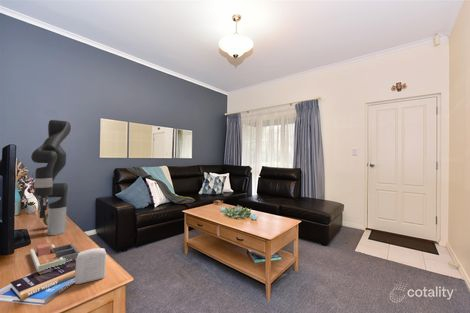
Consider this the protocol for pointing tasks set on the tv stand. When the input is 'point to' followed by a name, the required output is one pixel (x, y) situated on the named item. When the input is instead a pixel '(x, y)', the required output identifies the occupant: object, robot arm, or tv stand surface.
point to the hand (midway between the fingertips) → (42, 217)
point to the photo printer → (90, 265)
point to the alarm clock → (46, 220)
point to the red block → (43, 249)
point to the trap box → (61, 252)
